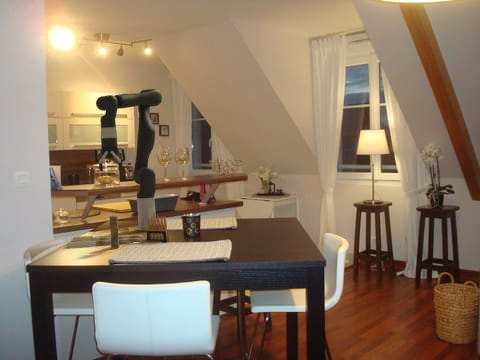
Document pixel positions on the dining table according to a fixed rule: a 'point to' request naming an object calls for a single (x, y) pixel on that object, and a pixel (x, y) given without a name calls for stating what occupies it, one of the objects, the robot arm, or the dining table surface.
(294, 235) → the dining table surface
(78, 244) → the tray
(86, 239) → the chip
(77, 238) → the chip
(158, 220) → the ammunition clip
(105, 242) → the slot channel
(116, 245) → the rake tool
